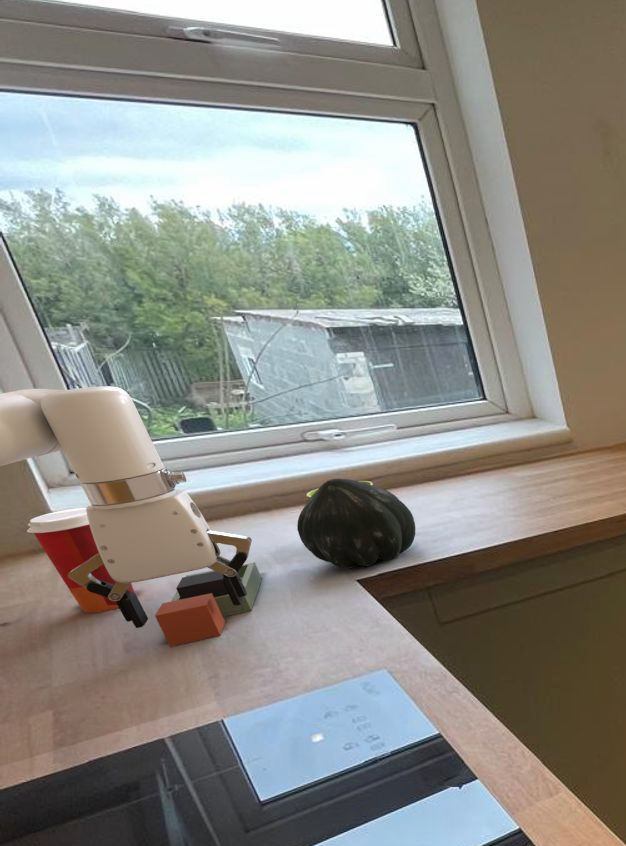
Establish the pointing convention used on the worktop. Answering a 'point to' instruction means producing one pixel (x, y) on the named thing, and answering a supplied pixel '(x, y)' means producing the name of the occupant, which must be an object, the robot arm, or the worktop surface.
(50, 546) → the paper cup
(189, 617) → the pad terracotta
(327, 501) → the squash
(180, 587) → the pad charcoal
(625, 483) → the worktop surface
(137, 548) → the robot arm
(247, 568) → the green tray
